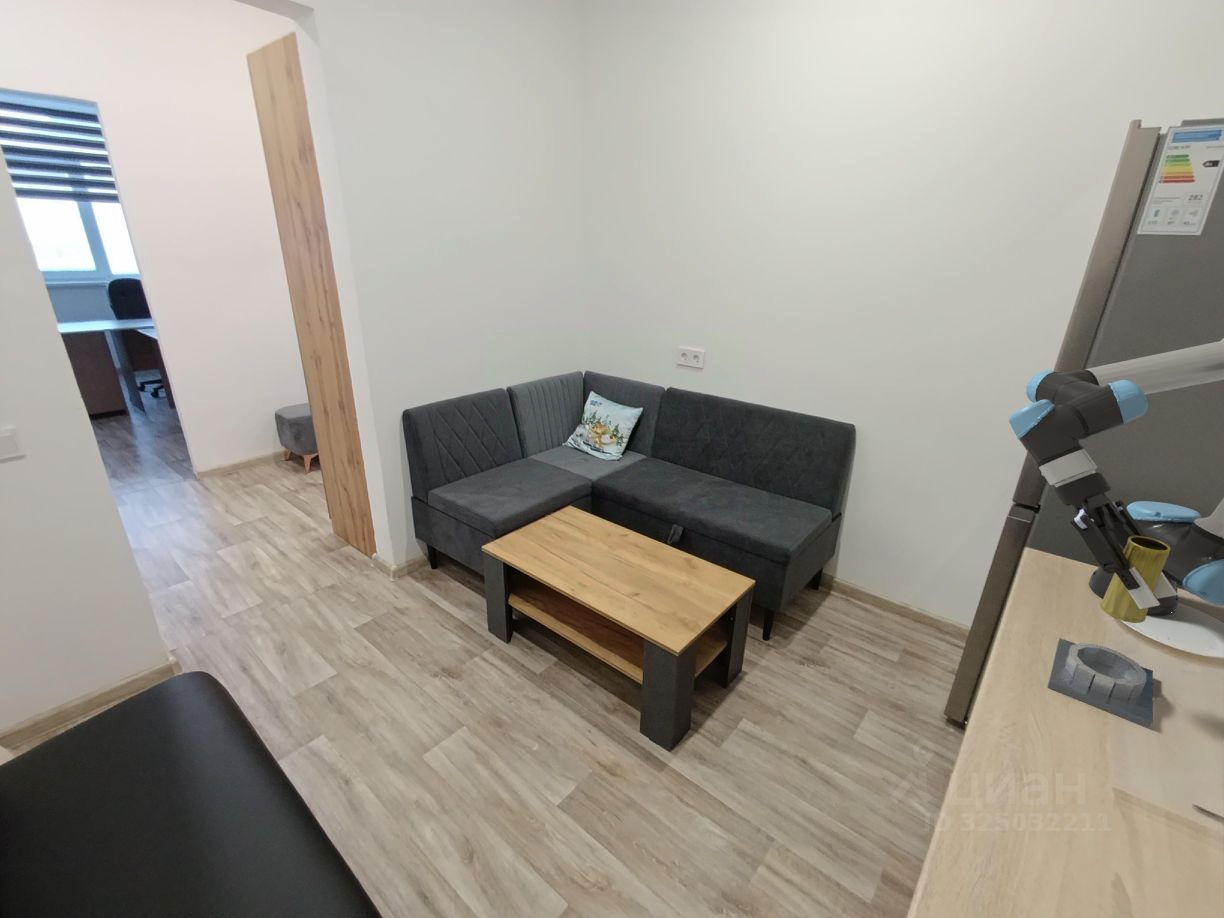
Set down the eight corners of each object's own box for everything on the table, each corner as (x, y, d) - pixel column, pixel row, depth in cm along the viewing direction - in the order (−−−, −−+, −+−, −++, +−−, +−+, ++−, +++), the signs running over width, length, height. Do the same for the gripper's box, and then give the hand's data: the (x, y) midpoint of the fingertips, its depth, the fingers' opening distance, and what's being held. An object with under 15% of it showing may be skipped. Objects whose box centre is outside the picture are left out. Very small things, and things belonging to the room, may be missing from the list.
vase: (1154, 625, 94) (1184, 553, 89) (1113, 621, 95) (1141, 551, 90) (1129, 603, 100) (1156, 535, 94) (1091, 600, 101) (1116, 533, 95)
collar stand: (1057, 643, 112) (1063, 625, 111) (1150, 676, 104) (1158, 658, 102) (1047, 687, 102) (1053, 668, 100) (1149, 728, 93) (1158, 708, 91)
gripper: (1080, 477, 107) (1159, 591, 99) (1026, 497, 100) (1106, 621, 92) (1122, 461, 101) (1209, 581, 93) (1068, 480, 93) (1158, 613, 85)
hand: (1158, 601), depth 92 cm, fingers closed on vase, 5 cm apart
